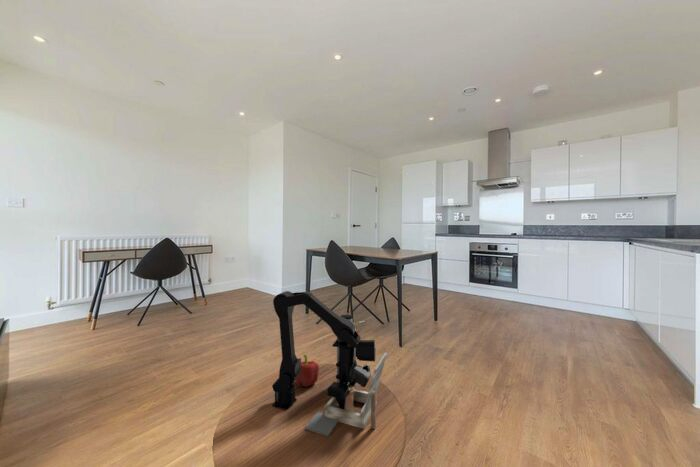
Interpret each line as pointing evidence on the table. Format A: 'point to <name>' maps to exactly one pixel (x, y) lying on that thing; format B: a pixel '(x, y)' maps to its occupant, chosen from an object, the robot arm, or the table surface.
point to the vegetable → (308, 373)
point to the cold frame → (359, 396)
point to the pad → (321, 424)
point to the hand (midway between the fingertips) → (346, 404)
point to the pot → (349, 399)
